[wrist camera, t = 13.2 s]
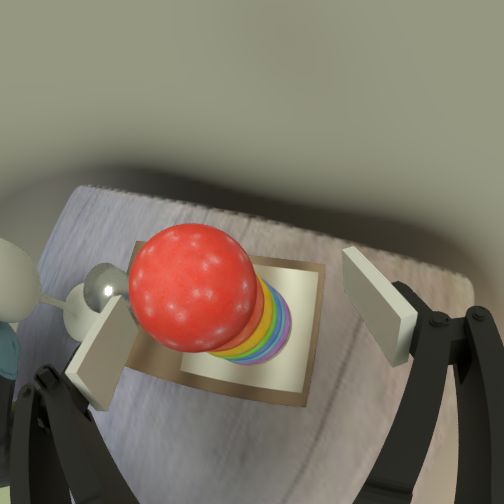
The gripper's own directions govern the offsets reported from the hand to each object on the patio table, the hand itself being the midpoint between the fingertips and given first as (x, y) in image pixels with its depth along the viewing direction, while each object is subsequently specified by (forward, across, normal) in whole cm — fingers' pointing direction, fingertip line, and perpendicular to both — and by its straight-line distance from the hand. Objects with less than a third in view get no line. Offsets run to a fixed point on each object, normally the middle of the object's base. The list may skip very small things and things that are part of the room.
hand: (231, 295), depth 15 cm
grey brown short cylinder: (+14, -13, -7) cm, 20 cm away
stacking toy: (+8, 0, -8) cm, 12 cm away
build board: (+12, -5, -10) cm, 17 cm away
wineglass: (+15, -24, -8) cm, 29 cm away
